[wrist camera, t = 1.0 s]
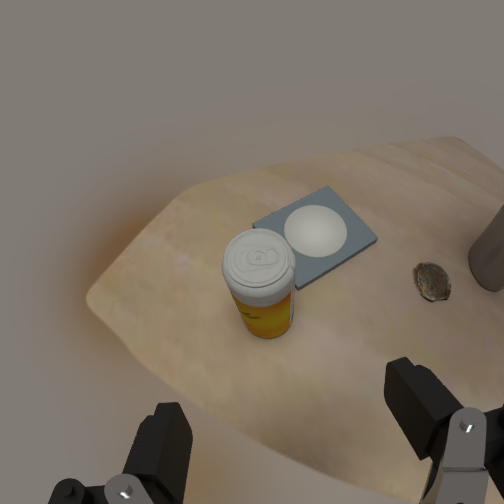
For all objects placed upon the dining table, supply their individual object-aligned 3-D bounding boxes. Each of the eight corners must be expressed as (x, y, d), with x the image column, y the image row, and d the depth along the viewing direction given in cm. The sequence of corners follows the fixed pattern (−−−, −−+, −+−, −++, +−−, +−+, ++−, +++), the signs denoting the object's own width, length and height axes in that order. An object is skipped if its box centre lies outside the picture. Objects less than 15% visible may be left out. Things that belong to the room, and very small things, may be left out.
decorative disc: (442, 261, 36) (445, 258, 35) (453, 300, 33) (456, 297, 32) (407, 264, 37) (409, 261, 36) (417, 305, 33) (419, 302, 33)
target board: (327, 189, 45) (328, 184, 44) (376, 241, 39) (378, 237, 38) (253, 227, 43) (252, 222, 42) (297, 290, 37) (298, 286, 36)
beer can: (244, 295, 37) (220, 227, 24) (291, 292, 37) (292, 221, 24) (244, 340, 34) (217, 293, 21) (294, 338, 33) (299, 288, 21)
